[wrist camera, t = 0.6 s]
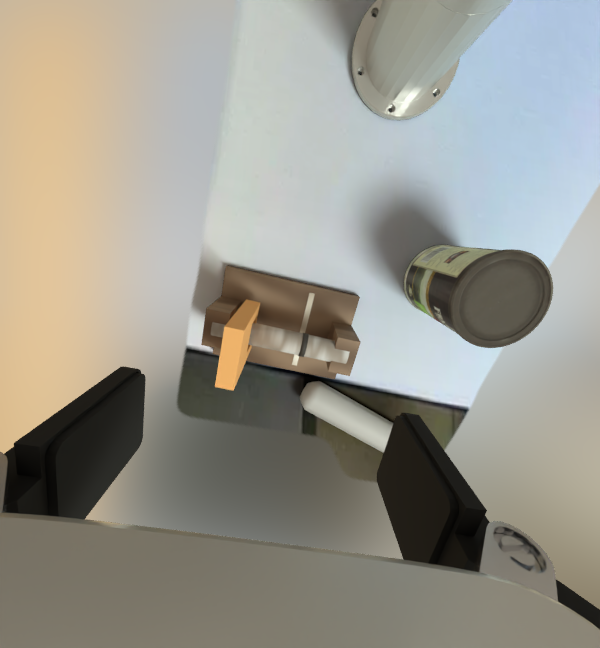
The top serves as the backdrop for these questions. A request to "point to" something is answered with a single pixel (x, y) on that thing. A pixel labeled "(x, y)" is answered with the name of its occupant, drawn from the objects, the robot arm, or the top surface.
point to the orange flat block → (236, 345)
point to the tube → (346, 414)
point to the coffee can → (480, 292)
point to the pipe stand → (288, 323)
